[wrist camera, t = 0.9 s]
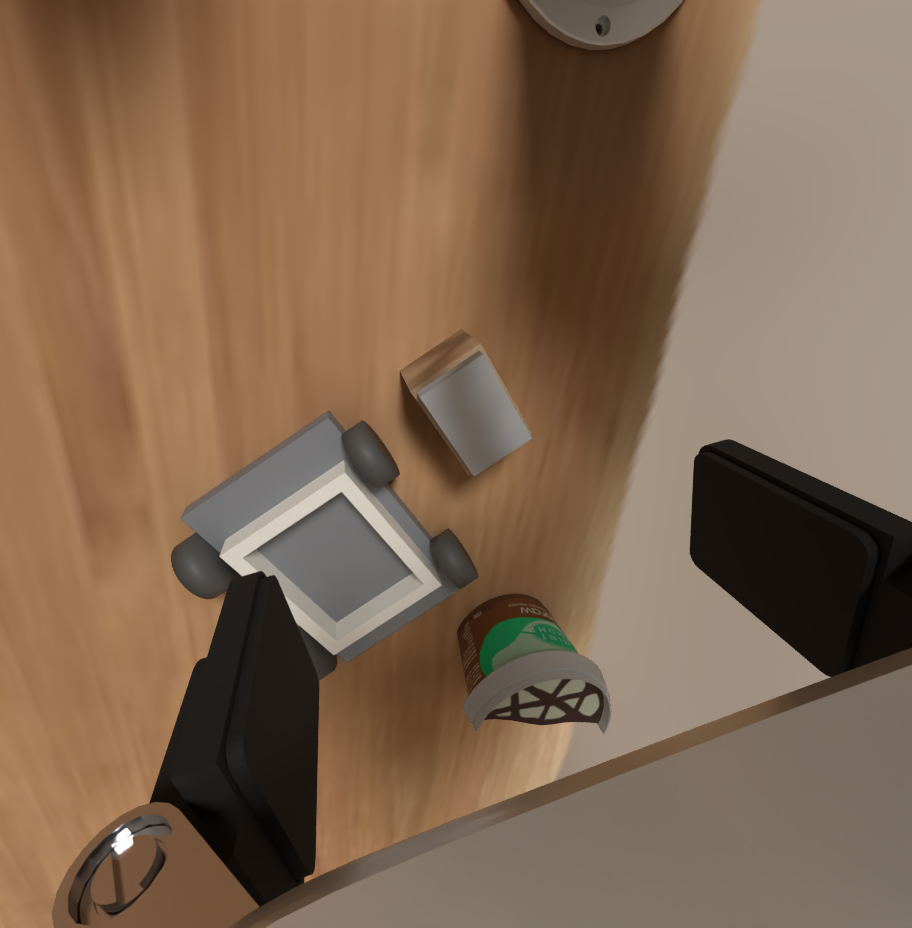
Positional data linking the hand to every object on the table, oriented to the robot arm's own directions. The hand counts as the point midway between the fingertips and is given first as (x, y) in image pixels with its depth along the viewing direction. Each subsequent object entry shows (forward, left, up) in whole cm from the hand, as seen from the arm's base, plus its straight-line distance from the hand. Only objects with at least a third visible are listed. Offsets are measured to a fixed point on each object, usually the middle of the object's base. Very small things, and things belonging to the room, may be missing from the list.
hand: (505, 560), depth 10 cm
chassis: (+12, +10, -24) cm, 29 cm away
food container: (+4, +26, -24) cm, 36 cm away
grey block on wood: (-2, +5, -24) cm, 25 cm away
